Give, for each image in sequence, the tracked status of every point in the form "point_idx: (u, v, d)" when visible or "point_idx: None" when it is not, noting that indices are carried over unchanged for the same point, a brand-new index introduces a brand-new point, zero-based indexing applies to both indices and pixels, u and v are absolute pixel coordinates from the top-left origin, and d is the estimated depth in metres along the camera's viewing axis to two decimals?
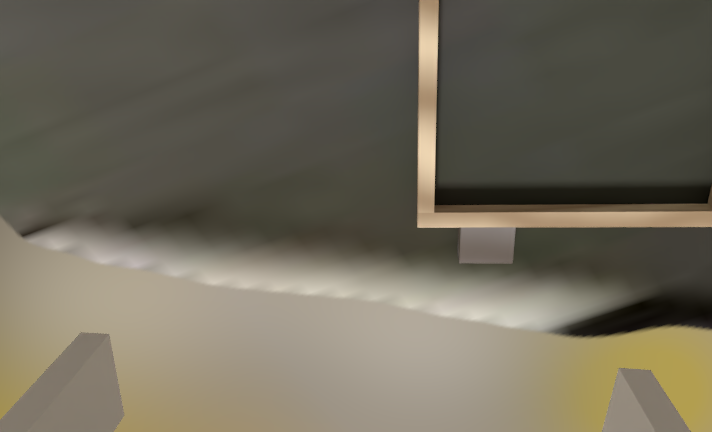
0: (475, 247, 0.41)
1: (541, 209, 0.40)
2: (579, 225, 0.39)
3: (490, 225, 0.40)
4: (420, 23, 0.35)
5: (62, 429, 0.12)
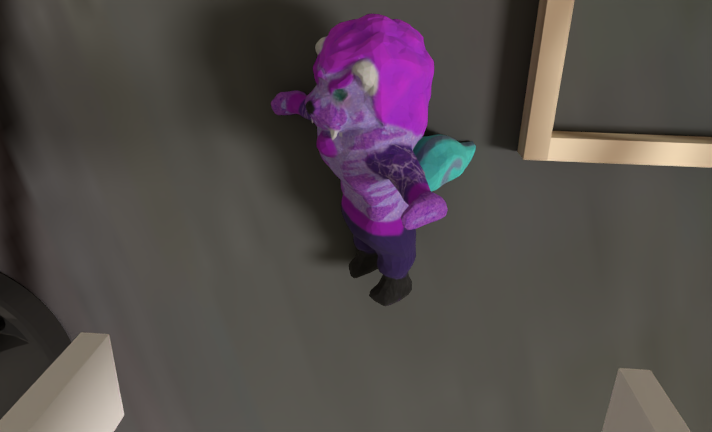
0: None
1: None
2: None
3: None
4: (642, 163, 0.27)
5: (62, 429, 0.12)
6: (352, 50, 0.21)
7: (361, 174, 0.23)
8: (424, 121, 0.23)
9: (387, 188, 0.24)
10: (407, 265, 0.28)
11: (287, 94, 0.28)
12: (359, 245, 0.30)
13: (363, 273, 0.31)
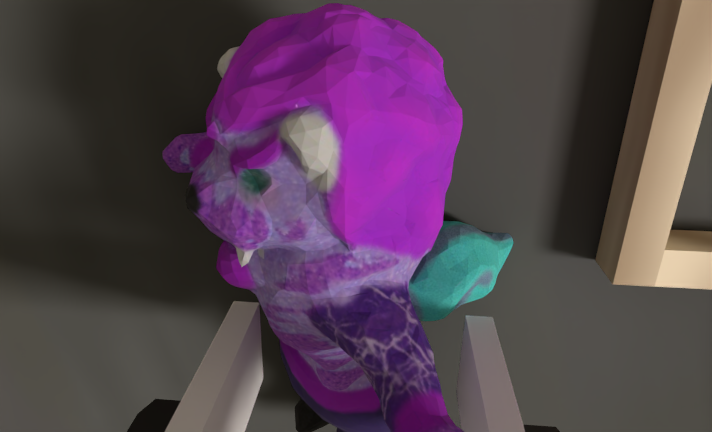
0: None
1: None
2: None
3: None
4: None
5: (238, 382, 0.14)
6: (281, 85, 0.09)
7: (301, 333, 0.11)
8: (436, 233, 0.11)
9: None
10: None
11: (192, 139, 0.16)
12: None
13: (316, 427, 0.19)
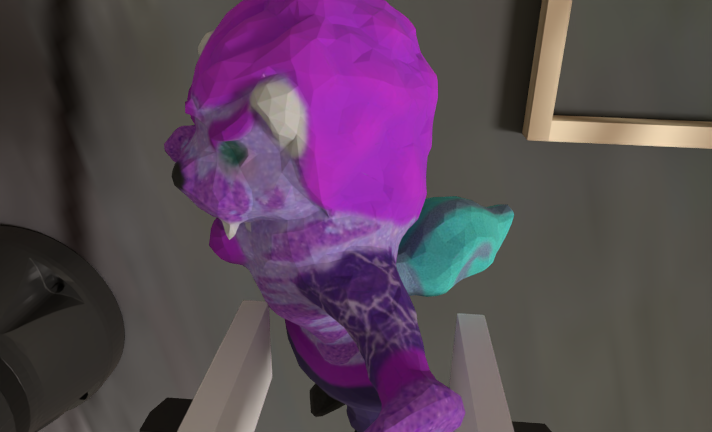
0: None
1: None
2: None
3: None
4: (633, 143, 0.31)
5: (249, 381, 0.14)
6: (250, 57, 0.09)
7: (292, 303, 0.11)
8: (418, 198, 0.11)
9: None
10: None
11: (192, 130, 0.16)
12: None
13: (330, 410, 0.19)
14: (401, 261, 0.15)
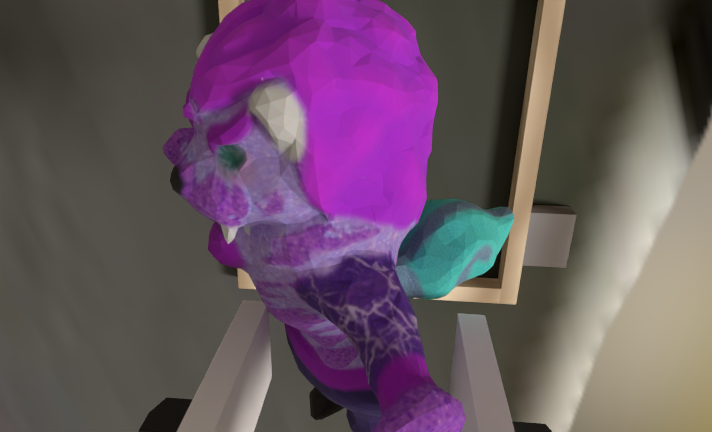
0: (549, 251, 0.37)
1: (515, 182, 0.36)
2: (539, 146, 0.34)
3: (524, 237, 0.37)
4: None
5: (248, 381, 0.14)
6: (248, 61, 0.09)
7: (291, 307, 0.11)
8: (418, 202, 0.11)
9: None
10: None
11: (190, 132, 0.16)
12: None
13: (330, 413, 0.19)
14: (401, 264, 0.15)
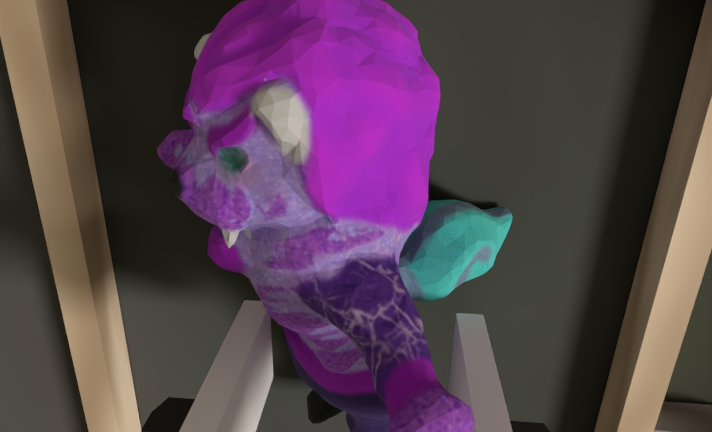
0: None
1: (624, 373, 0.18)
2: (684, 317, 0.17)
3: None
4: None
5: (250, 381, 0.14)
6: (250, 61, 0.09)
7: (293, 311, 0.11)
8: (421, 203, 0.11)
9: None
10: None
11: (185, 134, 0.16)
12: None
13: (328, 416, 0.19)
14: (400, 266, 0.15)
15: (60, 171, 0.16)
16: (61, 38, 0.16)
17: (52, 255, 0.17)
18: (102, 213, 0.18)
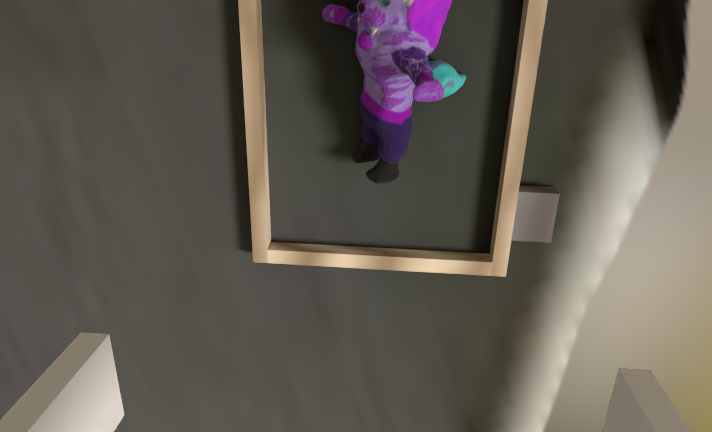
0: (535, 227, 0.41)
1: (504, 164, 0.40)
2: (525, 131, 0.38)
3: (513, 214, 0.41)
4: (325, 265, 0.44)
5: (62, 429, 0.12)
6: None
7: (386, 65, 0.32)
8: (437, 37, 0.32)
9: (401, 83, 0.33)
10: (400, 152, 0.37)
11: (336, 6, 0.36)
12: (365, 135, 0.39)
13: (363, 160, 0.40)
14: None
15: (255, 66, 0.38)
16: (259, 8, 0.37)
17: (245, 107, 0.39)
18: (264, 91, 0.40)
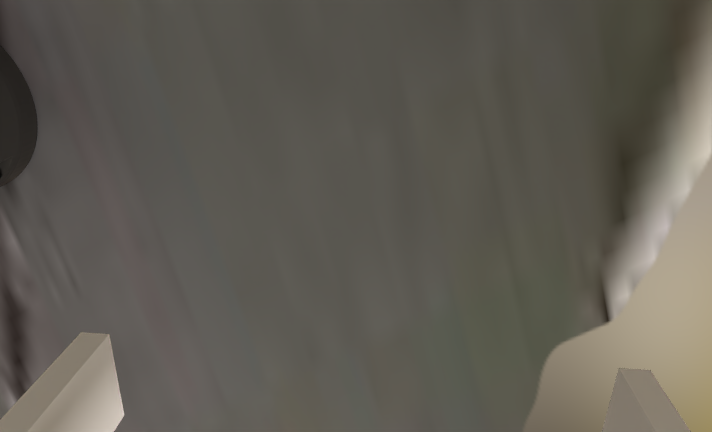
0: None
1: None
2: None
3: None
4: None
5: (62, 429, 0.12)
6: None
7: None
8: None
9: None
10: None
11: None
12: None
13: None
14: None
15: None
16: None
17: None
18: None
